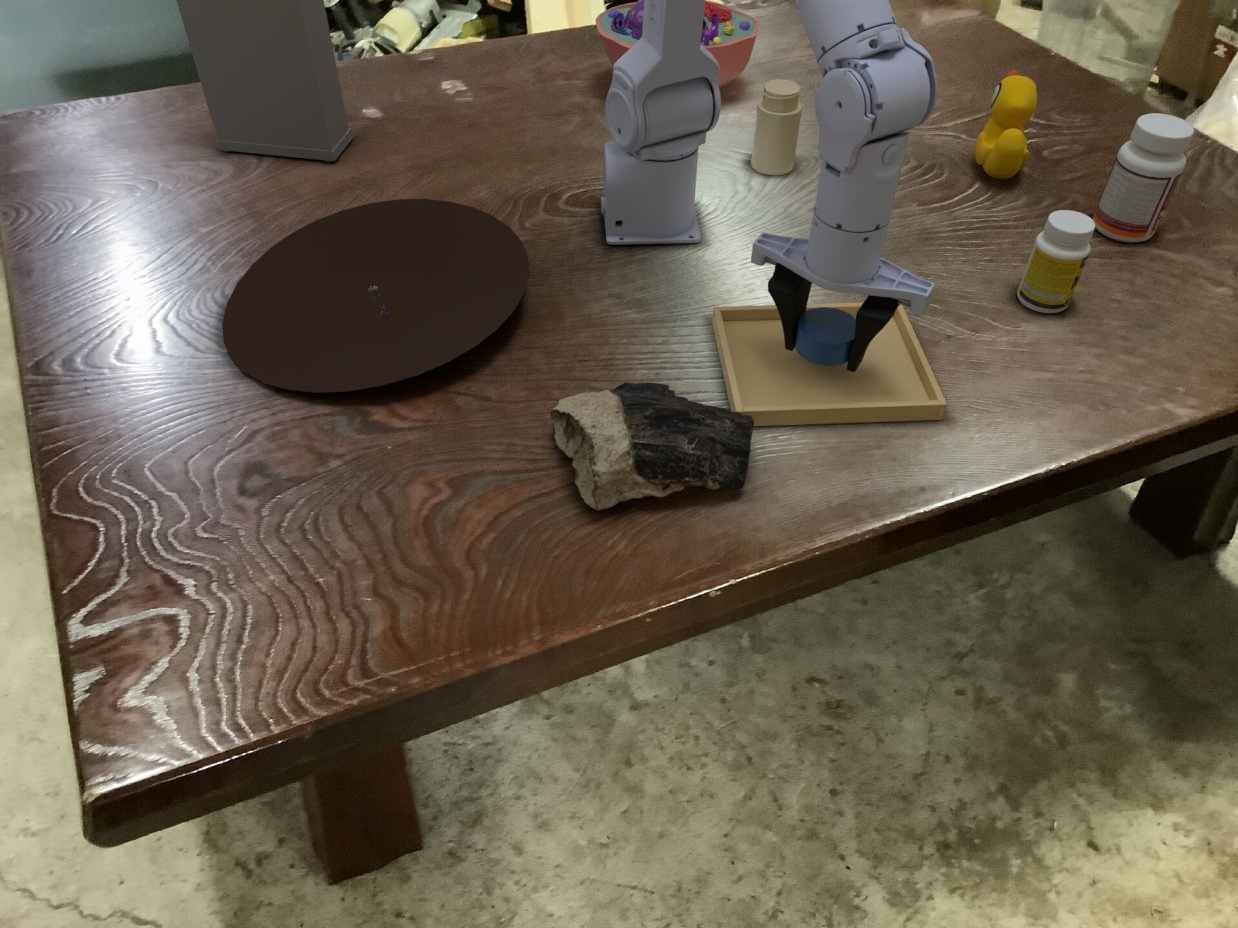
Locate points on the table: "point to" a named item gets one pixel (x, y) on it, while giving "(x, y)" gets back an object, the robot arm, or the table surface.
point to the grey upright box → (268, 76)
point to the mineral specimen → (649, 443)
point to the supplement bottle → (1056, 262)
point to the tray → (822, 373)
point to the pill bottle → (1143, 178)
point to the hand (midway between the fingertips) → (823, 354)
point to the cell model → (721, 35)
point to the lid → (825, 336)
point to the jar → (776, 128)
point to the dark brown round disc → (374, 295)
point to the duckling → (1007, 127)
